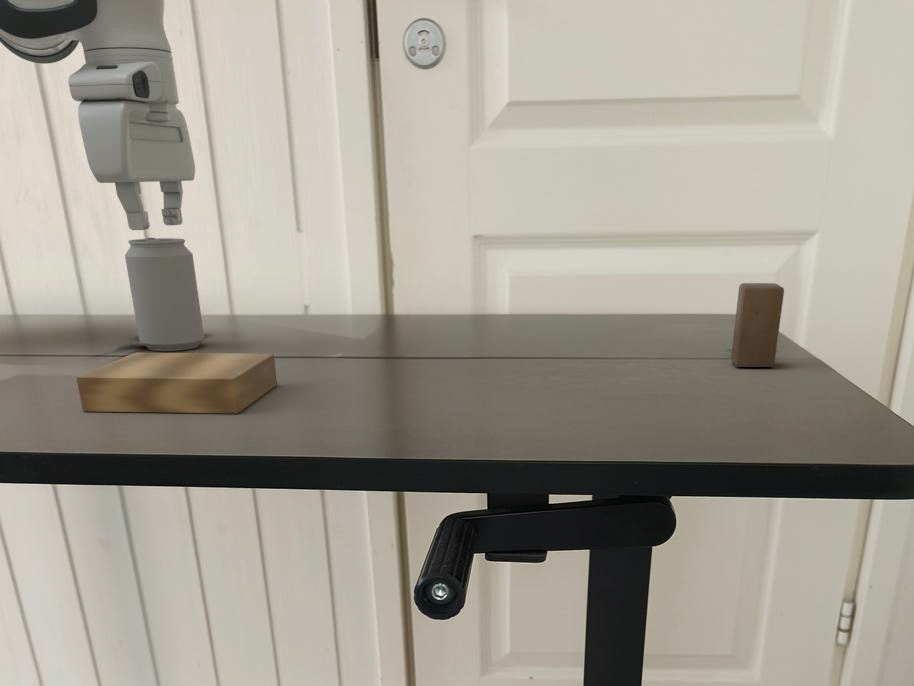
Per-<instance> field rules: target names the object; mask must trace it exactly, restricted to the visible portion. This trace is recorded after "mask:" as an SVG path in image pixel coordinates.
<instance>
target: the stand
mask: <svg viewBox="0 0 914 686" xmlns="http://www.w3.org/2000/svg"><path fill="white" fill-rule="evenodd" d="M76 384H77V388H78V389H77V390H78V393H79V398H80V404H81V408H82V411H83V412H84V413H85V412H93V413H94V412H95V413H154V414H155V413H156V414H157V413H159V414H161V413H163V414H164V413H165V414H223V415H225V414H228V415H230V414H231V415H234V414H235V415H237V414H239V413H241V412H242V411H243V410H245V409H246V408H247V407H249V406H250V405H252V404H253V403H254V402H256V401H257V400H259V399H260V398H261V397H263V396H264V395H265V394H267V393H268V392H269V391H271V390H273V389H274V388H275V387H276V386H278V380H277V370H276V360H275V354H274V353H234V352H233V353H229V352H228V353H227V352H225V353H224V352H223V353H220V352H219V353H218V352H215V353H214V352H212V353H211V352H210V353H209V352H133V353H130V354H128V355H126V356H123V357H121V358H119V359H116V360H114V361H111V362H109V363H107V364H105V365H102V366H99V367H98V368H95V369H93V370H90V371H88V372H85V373H83V374H80V375H78V376H76Z"/></svg>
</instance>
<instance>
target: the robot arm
mask: <svg viewBox="0 0 914 686" xmlns="http://www.w3.org/2000/svg"><path fill="white" fill-rule="evenodd" d="M164 14H165V0H0V43H1V44H2V45H3V46H4V48H6V49H7V50H8V51H9V52H10V53H12V54H14V55H15V56H17V57H19V58H21V59H23V60H25V61H27V62H31V63H35V64H41V65H42V64H44V65H45V64H54V63H58V62H60V61H62V60H64V59H66V58H67V57H69V56H70V55H72V53H73V52H74V51H75V50H76V49H77V47H78V45H79V43H80V44H81V46H82V50H83V56H84V61H85V63H84V64H83V65H82V66H81V67H80V68H79V69H78V70H76V71H75V72H73V73H71V74H70V75H69V77H68V79H67V82H68V88H69V93H70V96H71V98H72V100H73V101H75V102H79V105H78V107H77V110H78V111H77V117H78V123H79V128H80V133H81V139H82V143H83V147H84V151H85V155H86V159H87V163H88V166H89V170H90V171H91V173H92V175H93V177H94V179H95V180H96V182H97V183H100V184H114V186H115V192H116V196H117V198H118V200H119V202H120V204H121V207H122V209H123V210H124V213H125V215H126V220H127V225H128V228H129V230H131V231H144V230H148V229H150V227H151V224H150V221H149V213H148V211H145V209H144V205H143V203H142V199H141V196H140V195H141V194H142V189H141V184H140V183H155V182H159V187H160V192H161V193H163V195H162V196H163V198H162V199H163V208H161V216H162V222H163V224H164V225H165V226H181V225H182V224H183V214H182V204H183V203H182V202H183V196H184V195H183V194H184V189H183V183H182V182H189V181H190V182H191V181H194V180H195V175H196V163H195V159H194V153H193V148H192V142H191V137H190V132H189V129H188V124H187V121H186V118H185V116H184V113H183V112H182V111H181V110H180V109H179V108H177V105H178V104H180V99H179V93H178V86H177V80H176V73H175V66H174V59H173V53H172V47H171V45H170V43H169V40H168V38H167V34H166V31H165V25H164V24H165V23H164Z"/></svg>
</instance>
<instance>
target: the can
mask: <svg viewBox="0 0 914 686" xmlns="http://www.w3.org/2000/svg"><path fill="white" fill-rule="evenodd" d="M127 243H128V244H129V245H130V247H129V248H128V250H127V251H126V253H125V254H124V258H125V264H126V270H127V271H126V272H127V276H128V283H129V289H130V294H131V298H132V307H133V311H134V317H135V322H136V328H137V335H138V340H139V343H140V344H142V345H143V346H144V347H146V349H148V350H150V351H155V352H177V351H187V350H192V349H195V348H198V347H199V346H200V344H201V342H202V341H203V340H205V333H204V326H203V319H202V318H203V317H202V313H201V304H200V297H199V296H200V295H199V290H198V283H197V276H196V275H197V274H196V268H195V261H194V255H193V252H192V251H191V250H190V249H188V247H187V246H186V245H185V243H186V239H184V238H175V237H174V238H171V237H168V238H167V237H163V238H162V237H161V238H160V237H158V238H156V237H145V238H139V239H129V240H128V242H127Z"/></svg>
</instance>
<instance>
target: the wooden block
mask: <svg viewBox="0 0 914 686" xmlns="http://www.w3.org/2000/svg"><path fill="white" fill-rule="evenodd" d="M784 295H785V288H784V287H783V286H781V285H779V283H778V284H777V283H776V282H766V283H765V282H743V283H740V285H739V286H738V293H737V302H736V309H735V319H734V328H733V336H732V337H733V338H732V339H733V340H732V346H731V355H730V360H731V362H732V363H733V365H734V366H735V367H736V368H738V367H772V368H773V367H774V366H775V364H776V363H775V362H776V355H777V346H778V342H779V341H778V339H779V334H780V333H779V332H780V326H781V318H782V312H783V311H782V309H783V305H784V304H783V303H784Z"/></svg>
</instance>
